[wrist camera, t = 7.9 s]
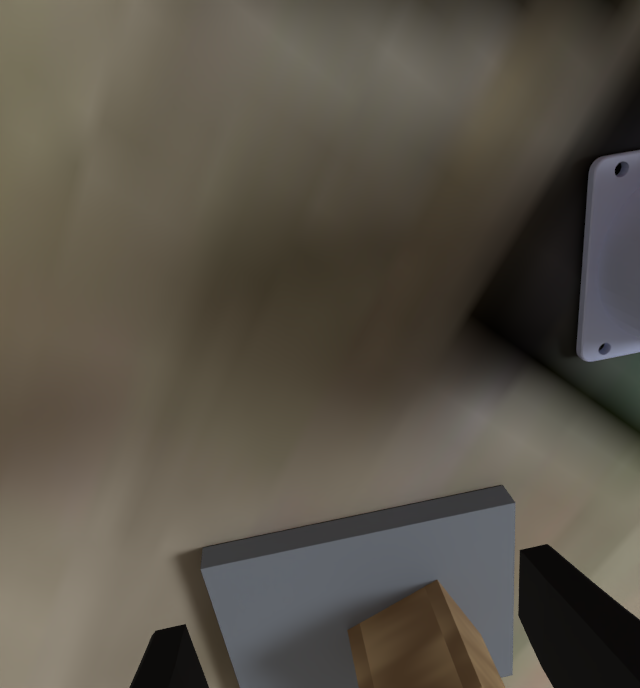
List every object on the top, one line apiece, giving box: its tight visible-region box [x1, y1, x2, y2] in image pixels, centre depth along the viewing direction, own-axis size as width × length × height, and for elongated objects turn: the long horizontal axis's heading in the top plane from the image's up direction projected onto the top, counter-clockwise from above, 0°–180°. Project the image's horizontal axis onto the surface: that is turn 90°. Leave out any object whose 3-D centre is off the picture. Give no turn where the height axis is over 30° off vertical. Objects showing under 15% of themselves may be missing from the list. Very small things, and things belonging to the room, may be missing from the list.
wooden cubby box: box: [347, 580, 505, 688], centre depth 23 cm, size 5×5×5 cm
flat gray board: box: [201, 485, 515, 688], centre depth 25 cm, size 14×12×1 cm
